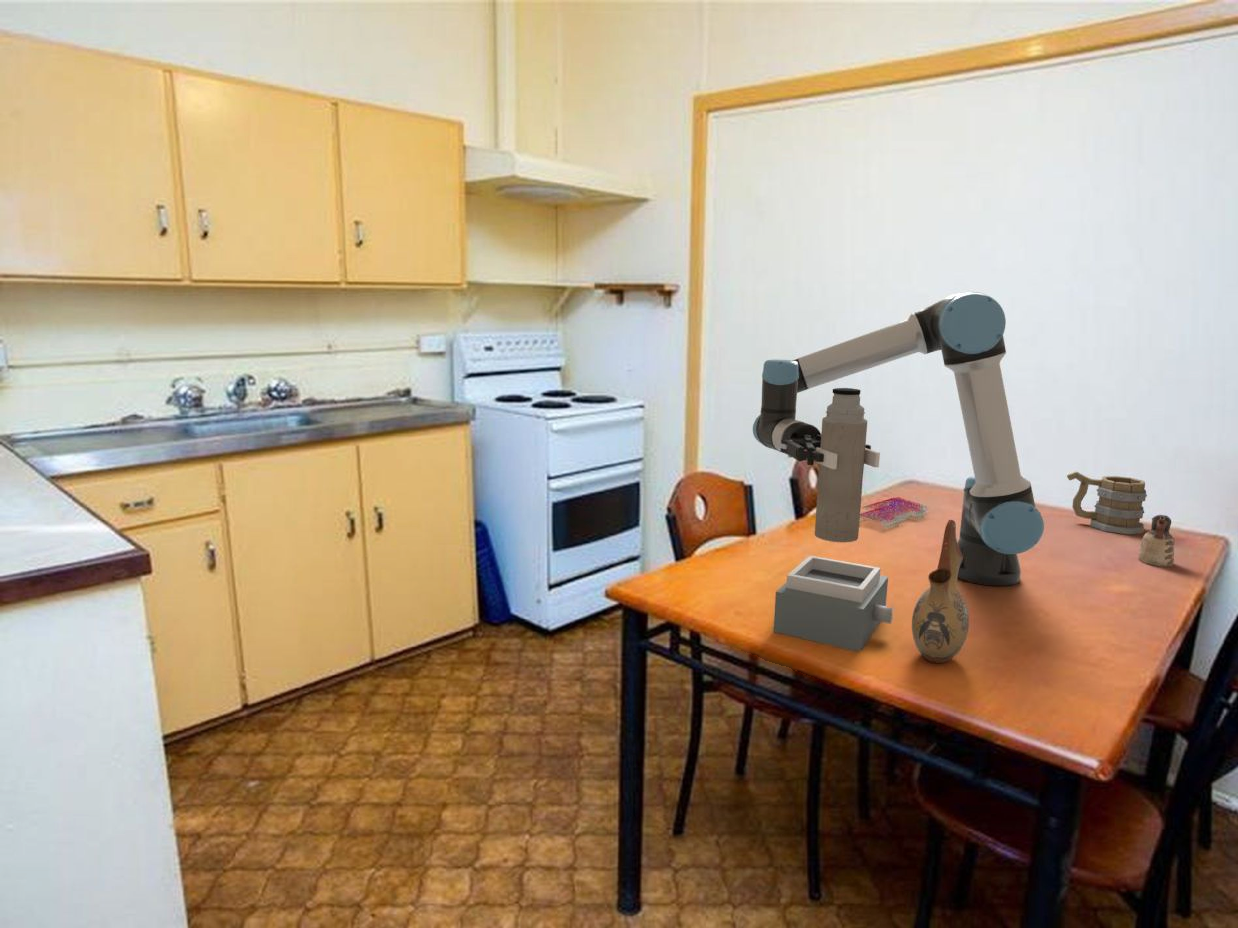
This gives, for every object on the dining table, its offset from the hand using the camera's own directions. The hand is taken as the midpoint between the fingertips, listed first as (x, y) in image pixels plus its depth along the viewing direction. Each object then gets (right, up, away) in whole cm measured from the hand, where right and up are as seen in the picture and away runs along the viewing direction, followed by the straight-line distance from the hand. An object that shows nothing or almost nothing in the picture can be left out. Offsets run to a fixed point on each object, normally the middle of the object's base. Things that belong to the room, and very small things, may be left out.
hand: (856, 460), depth 139 cm
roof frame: (+37, -17, +88) cm, 97 cm away
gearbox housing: (0, -32, +10) cm, 33 cm away
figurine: (+89, -25, +51) cm, 105 cm away
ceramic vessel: (+13, -35, -3) cm, 37 cm away
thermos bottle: (-1, -14, +8) cm, 16 cm away
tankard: (+95, -18, +83) cm, 127 cm away
